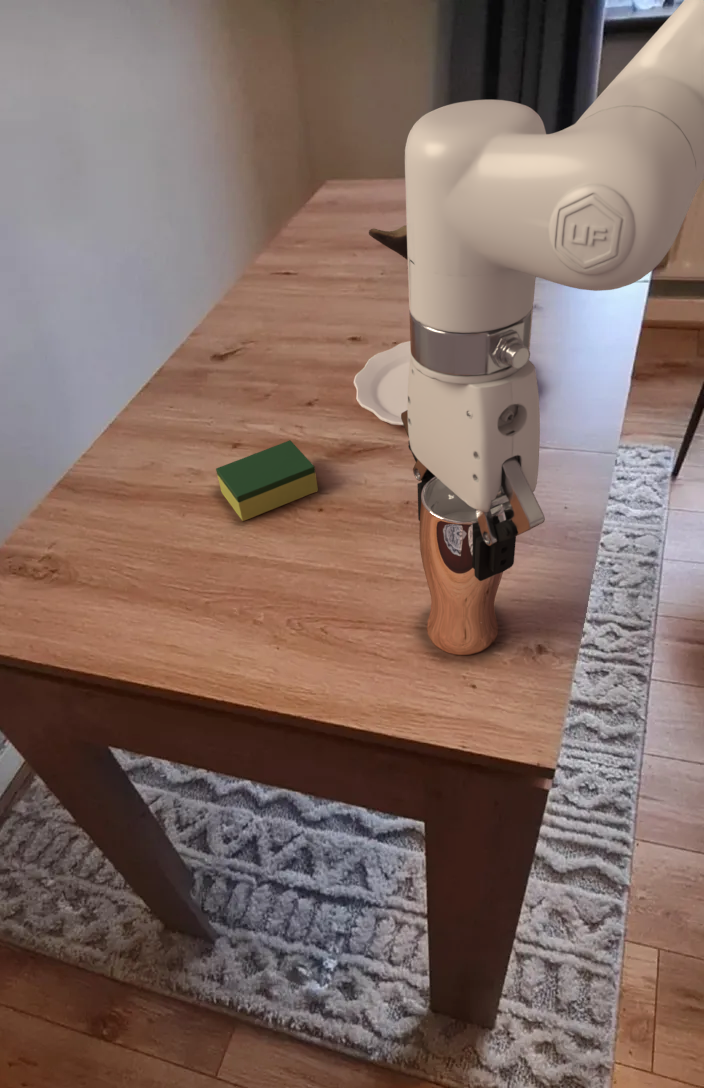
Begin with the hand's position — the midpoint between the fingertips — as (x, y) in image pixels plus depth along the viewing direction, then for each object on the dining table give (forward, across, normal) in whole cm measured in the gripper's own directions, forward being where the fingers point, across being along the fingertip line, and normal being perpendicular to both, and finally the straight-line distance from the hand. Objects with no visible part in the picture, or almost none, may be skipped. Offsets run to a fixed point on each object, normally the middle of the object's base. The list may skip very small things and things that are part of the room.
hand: (464, 542), depth 63 cm
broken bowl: (+10, +64, -45) cm, 79 cm away
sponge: (+10, +28, +6) cm, 30 cm away
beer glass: (+10, 0, 0) cm, 10 cm away
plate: (+10, +34, -20) cm, 41 cm away
